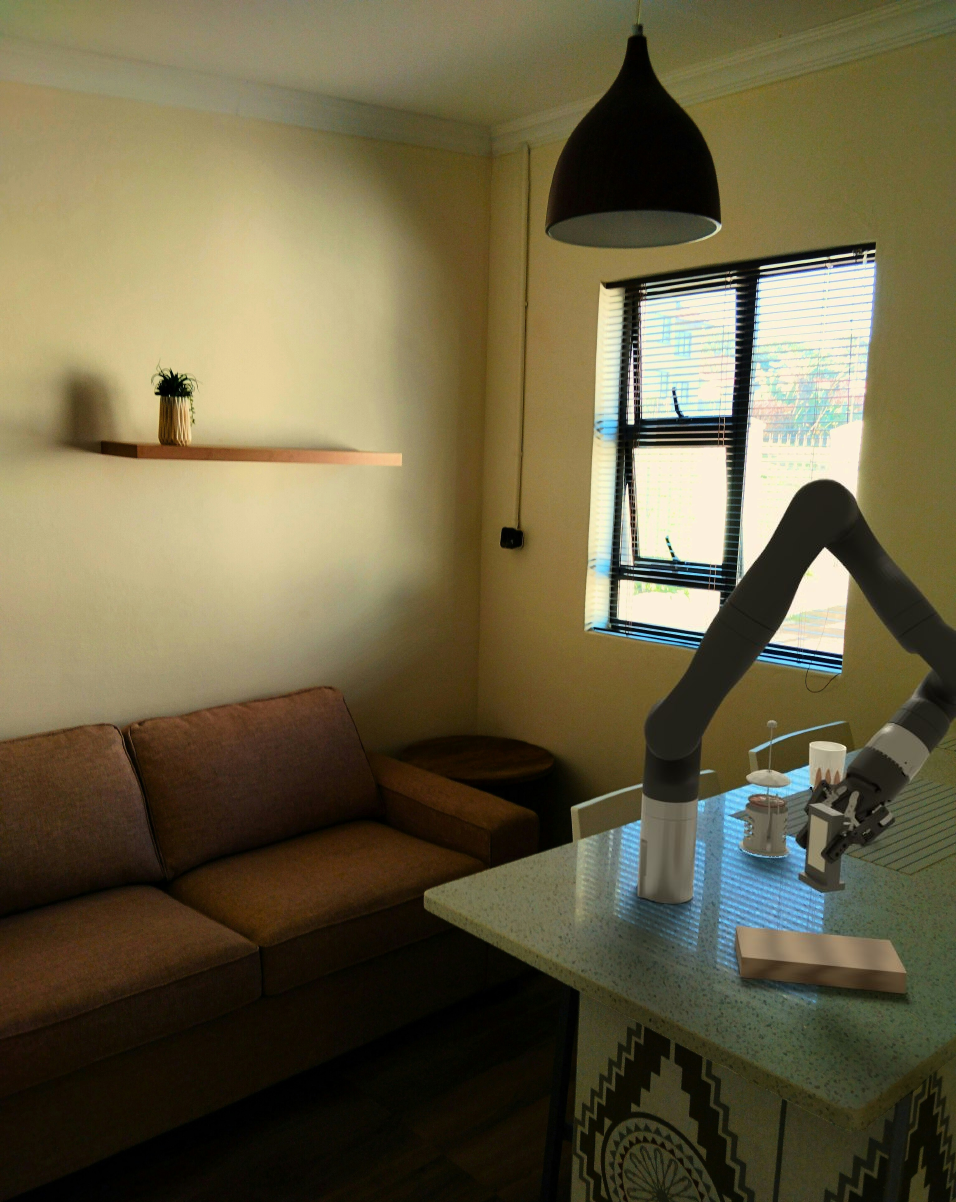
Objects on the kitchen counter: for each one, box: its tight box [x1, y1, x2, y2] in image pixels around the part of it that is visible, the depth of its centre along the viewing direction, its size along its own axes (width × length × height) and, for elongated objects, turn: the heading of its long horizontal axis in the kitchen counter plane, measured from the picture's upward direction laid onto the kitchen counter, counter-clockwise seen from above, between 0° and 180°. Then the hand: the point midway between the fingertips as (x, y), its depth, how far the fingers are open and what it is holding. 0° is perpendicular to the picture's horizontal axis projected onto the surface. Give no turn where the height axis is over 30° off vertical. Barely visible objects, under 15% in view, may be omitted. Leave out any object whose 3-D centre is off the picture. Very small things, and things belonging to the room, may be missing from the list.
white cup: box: [808, 740, 847, 786], centre depth 230 cm, size 8×8×10 cm
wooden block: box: [734, 925, 908, 994], centre depth 146 cm, size 22×10×3 cm, turn 81°
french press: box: [739, 719, 792, 857], centre depth 190 cm, size 10×12×25 cm
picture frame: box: [797, 803, 846, 894], centre depth 143 cm, size 4×5×11 cm
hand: (812, 852), depth 142 cm, fingers closed on picture frame, 5 cm apart
